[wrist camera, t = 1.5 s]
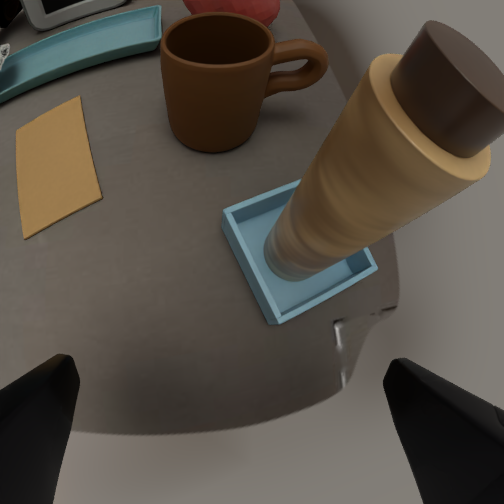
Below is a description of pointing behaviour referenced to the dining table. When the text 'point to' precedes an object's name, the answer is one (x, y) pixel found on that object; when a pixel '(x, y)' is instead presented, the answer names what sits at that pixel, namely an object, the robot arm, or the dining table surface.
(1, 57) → the stone
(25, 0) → the alarm clock
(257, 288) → the tub
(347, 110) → the pepper mill
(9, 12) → the figurine
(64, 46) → the shallow long dish
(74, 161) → the mat
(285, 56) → the mug
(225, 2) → the vegetable
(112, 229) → the dining table surface
